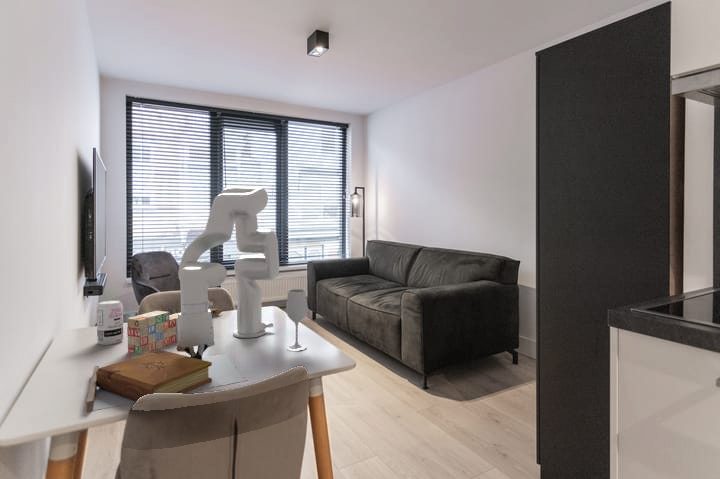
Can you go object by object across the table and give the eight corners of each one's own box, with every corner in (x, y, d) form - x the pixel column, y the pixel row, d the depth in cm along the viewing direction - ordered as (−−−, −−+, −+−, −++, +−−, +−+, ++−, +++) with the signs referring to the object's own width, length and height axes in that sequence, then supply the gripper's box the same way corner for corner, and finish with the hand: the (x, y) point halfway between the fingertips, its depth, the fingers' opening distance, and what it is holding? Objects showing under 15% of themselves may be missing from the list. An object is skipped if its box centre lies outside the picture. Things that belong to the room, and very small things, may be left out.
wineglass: (299, 343, 148) (299, 288, 147) (311, 348, 143) (311, 290, 142) (281, 348, 143) (281, 290, 142) (294, 353, 138) (294, 293, 137)
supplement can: (105, 338, 152) (104, 300, 151) (127, 338, 152) (126, 300, 152) (92, 345, 144) (91, 304, 143) (116, 345, 144) (115, 304, 143)
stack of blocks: (176, 336, 157) (176, 305, 156) (189, 338, 154) (188, 306, 154) (127, 352, 137) (126, 317, 136) (140, 355, 135) (140, 319, 134)
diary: (96, 390, 107) (96, 369, 107) (159, 367, 124) (159, 349, 124) (151, 408, 97) (150, 385, 96) (212, 381, 113) (211, 361, 113)
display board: (227, 354, 137) (227, 346, 136) (247, 381, 114) (247, 371, 114) (94, 375, 117) (94, 366, 117) (87, 412, 95) (86, 401, 95)
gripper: (217, 302, 125) (219, 358, 127) (165, 308, 118) (167, 368, 119) (223, 307, 119) (224, 366, 121) (168, 314, 111) (171, 377, 113)
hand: (196, 367), depth 120 cm, fingers closed
